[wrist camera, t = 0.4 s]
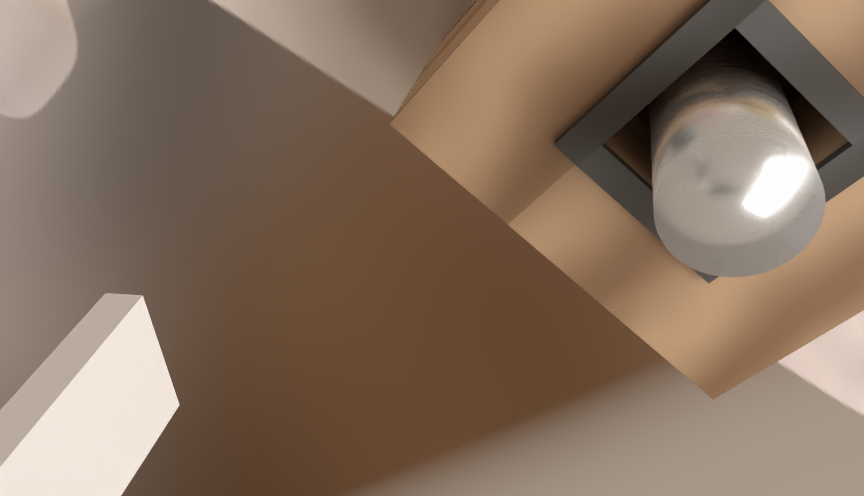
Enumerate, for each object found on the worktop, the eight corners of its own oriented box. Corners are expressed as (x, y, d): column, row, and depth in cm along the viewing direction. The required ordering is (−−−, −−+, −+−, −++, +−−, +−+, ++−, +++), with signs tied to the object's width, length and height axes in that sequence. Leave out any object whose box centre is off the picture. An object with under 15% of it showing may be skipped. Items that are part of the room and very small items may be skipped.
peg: (623, 99, 32) (620, 208, 24) (720, 10, 29) (749, 103, 22) (705, 175, 33) (726, 302, 25) (806, 96, 30) (861, 212, 23)
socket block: (441, 41, 38) (386, 128, 30) (707, -264, 30) (736, -264, 21) (697, 270, 42) (713, 405, 34) (998, 56, 34) (1123, 165, 25)
